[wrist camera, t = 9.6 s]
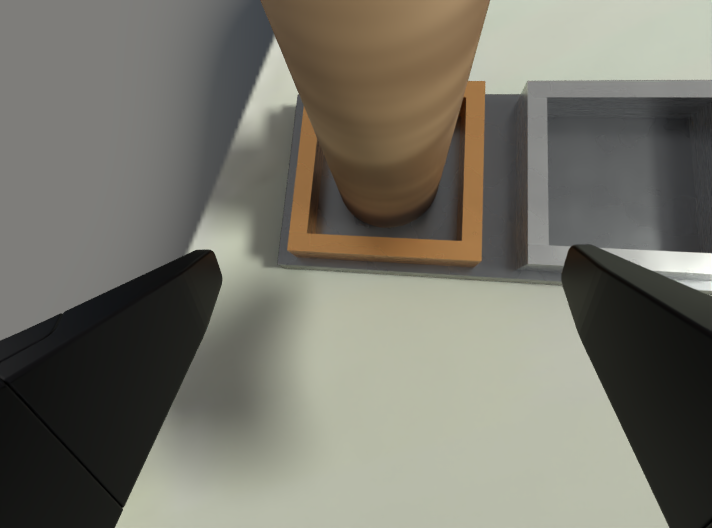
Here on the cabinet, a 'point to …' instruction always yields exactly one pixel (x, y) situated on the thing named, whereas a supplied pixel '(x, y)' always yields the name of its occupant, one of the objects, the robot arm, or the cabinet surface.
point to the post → (381, 92)
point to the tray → (532, 188)
